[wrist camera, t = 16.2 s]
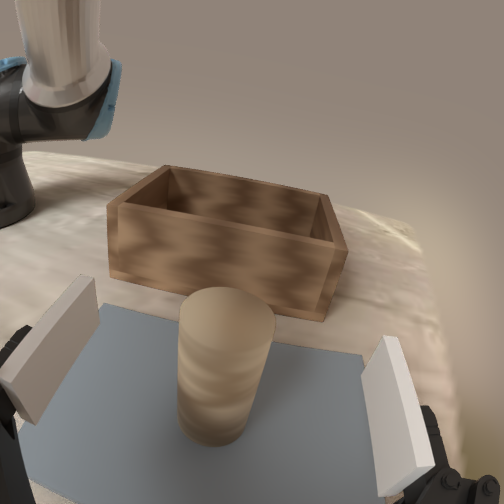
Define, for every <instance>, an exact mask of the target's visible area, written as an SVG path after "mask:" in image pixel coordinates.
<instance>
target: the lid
mask: <svg viewBox="0 0 504 504" xmlns="http://www.w3.org/2000/svg"><path fill="white" fill-rule="evenodd" d="M98 311H99V318H100V324H99V326H98V327H97V329H96V330H95V332H94V333H93V335H92V336H91V338H90V339H89V341H88V342H87V344H86V345H85V347H84V348H83V350H82V351H81V353H80V354H79V356H78V358H77V359H76V361H75V362H74V364H73V365H72V367H71V368H70V370H69V372H68V373H67V375H66V376H65V378H64V380H63V381H62V383H61V384H60V386H59V388H58V389H57V391H56V393H55V394H54V396H53V398H52V399H51V401H50V403H49V404H48V406H47V408H46V409H45V411H44V413H43V415H42V416H41V418H40V420H39V422H38V423H37V425H36V426H35V425H33V424H31V423H29V422H27V421H25V422H24V424H23V426H22V427H21V429H20V431H19V433H18V439H19V443H20V448H21V453H22V457H23V461H24V465H25V469H26V473H27V476H28V478H29V479H30V480H32V481H34V482H36V483H37V484H39V485H41V486H43V487H45V488H47V489H49V490H51V491H52V492H54V493H56V494H58V495H60V496H62V497H65V498H67V499H69V500H71V501H73V502H75V503H77V504H385V497H378V490H377V481H376V472H375V464H374V456H373V449H372V442H371V435H370V428H369V421H368V415H367V409H366V403H365V397H364V391H363V386H362V380H361V374H362V372H363V371H364V369H365V368H364V363H363V359H362V355H357V354H349V353H341V352H334V351H327V350H320V349H314V348H307V347H301V346H295V345H289V344H283V343H277V342H272V339H273V335H274V332H275V328H276V319H275V315H274V313H273V311H272V310H271V308H270V307H269V306H268V305H267V304H266V303H265V302H264V301H263V300H261V299H260V298H258V297H257V296H255V295H253V294H251V293H248V292H246V291H243V290H240V289H235V288H229V287H211V288H206V289H202V290H199V291H196V292H194V293H192V294H191V295H189V296H188V297H187V298H186V299H185V300H184V301H183V303H182V305H181V307H180V312H179V322H176V321H171V320H167V319H163V318H159V317H155V316H151V315H147V314H143V313H140V312H136V311H132V310H128V309H125V308H121V307H117V306H114V305H110V304H107V303H103V305H102V306H101V307H100V309H99V310H98Z"/></svg>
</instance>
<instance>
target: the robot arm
mask: <svg viewBox="0 0 504 504" xmlns="http://www.w3.org/2000/svg"><path fill="white" fill-rule="evenodd" d="M14 1H15V6H16V12H17V17H18V21H19V27H20V31H21V35H22V40H23V44H24V48H25V52H26V56H27V60H28V64H27V61H26V58H25V57H11V58H6V59H2V60H0V228H1V227H4V226H7V225H9V224H12V223H14V222H16V221H18V220H20V219H22V218H23V217H25V216H26V215H28V214H29V213H30V212H31V211H32V210H33V208H34V206H35V196H34V189H33V186H32V184H31V181H30V178H29V176H28V173H27V170H26V168H25V165H24V162H23V158H22V143H32V142H46V141H63V140H64V141H65V140H81V141H87V140H90V139H100V138H103V137H105V136H106V135H107V134H108V133H109V131H110V129H111V125H112V121H113V116H114V111H115V105H116V100H117V96H118V90H119V84H120V78H121V71H122V64H121V62H119V61H116V60H114V59H110V54H109V52H108V50H107V49H106V47H105V46H104V45H103V44H102V43H101V42H99V24H100V6H101V0H14ZM99 324H100V318H99V311H98V304H97V297H96V289H95V280H94V277H90V276H86V275H83V274H80V275H79V276H78V277H77V278H76V279H75V280H74V282H73V283H72V284H71V285H70V286H69V287H68V288H67V289H66V290H65V291H64V292H63V293H62V295H61V296H60V297H59V298H58V299H57V300H56V301H55V302H54V304H53V305H52V306H51V307H50V308H49V309H48V310H47V312H46V313H45V314H44V315H43V316H42V317H41V318H40V320H39V321H38V322H37V323H36V324H35V326H34V327H30V326H28V325H26V326H24V327H23V328H21V329H19V330H18V331H16V333H15V334H14V335H13V336H12V337H11V339H10V341H8V342H7V343H6V345H5V347H3V348H2V349H1V351H0V504H36V503H35V500H34V497H33V493H32V490H31V487H30V483H29V480H28V476H27V473H26V469H25V465H24V461H23V457H22V453H21V448H20V443H19V439H18V433H17V428H16V423H15V419H14V416H13V415H14V413H15V412H16V411H17V412H18V414H19V415H20V417H21V418H22V419H24V420H25V421H27V422H29V423H31V424H33V425H35V426H36V425H37V423H38V422H39V420H40V418H41V416H42V415H43V413H44V411H45V409H46V408H47V406H48V404H49V403H50V401H51V399H52V398H53V396H54V394H55V393H56V391H57V389H58V388H59V386H60V384H61V383H62V381H63V380H64V378H65V376H66V375H67V373H68V372H69V370H70V368H71V367H72V365H73V364H74V362H75V361H76V359H77V358H78V356H79V354H80V353H81V351H82V350H83V348H84V347H85V345H86V344H87V342H88V341H89V339H90V338H91V336H92V335H93V333H94V332H95V330H96V329H97V327H98V326H99ZM361 380H362V386H363V391H364V397H365V403H366V409H367V415H368V421H369V428H370V435H371V442H372V449H373V456H374V464H375V472H376V481H377V490H378V497H386V496H395V495H397V494H398V493H400V492H401V491H403V492H404V497H402V498H401V499H399V500H398V501H396V502H395V503H394V504H498V503H499V495H500V485H499V483H498V481H497V480H496V478H495V477H493V476H491V475H485V476H483V477H481V478H480V479H479V480H477V481H476V480H470V479H465V478H461V476H460V474H459V473H458V472H457V471H456V470H455V469H452V468H450V466H449V464H448V460H447V456H446V452H445V448H444V445H443V441H442V437H441V436H440V430H439V428H438V424H437V420H436V417H435V414H434V413H433V412H432V410H431V409H430V407H429V406H420V405H419V401H418V398H417V395H416V391H415V388H414V385H413V382H412V378H411V375H410V372H409V369H408V366H407V363H406V360H405V357H404V354H403V351H402V348H401V345H400V343H399V340H398V337H393V336H385V335H383V336H382V338H381V340H380V342H379V344H378V346H377V348H376V349H375V351H374V353H373V355H372V357H371V358H370V360H369V362H368V364H367V366H366V367H365V369H364V371H363V372H362V374H361Z"/></svg>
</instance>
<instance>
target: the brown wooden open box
mask: <svg viewBox="0 0 504 504" xmlns="http://www.w3.org/2000/svg"><path fill="white" fill-rule="evenodd" d="M107 238H108V258H109V272H110V277H111V278H115V279H119V280H123V281H127V282H131V283H135V284H139V285H143V286H147V287H151V288H156V289H160V290H164V291H169V292H173V293H177V294H182V295H186V296H189V295H191V294H192V293H194V292H196V291H199V290H202V289H206V288H211V287H229V288H235V289H240V290H243V291H246V292H248V293H251V294H253V295H255V296H257V297H258V298H260V299H261V300H263V301H264V302H265V303H266V304H267V305H268V306H269V307H270V308H271V310H272V311H273V313H274V314H279V315H285V316H290V317H296V318H302V319H307V320H313V321H319V322H323V320H324V318H325V315H326V313H327V310H328V307H329V305H330V302H331V299H332V297H333V294H334V291H335V288H336V286H337V283H338V280H339V277H340V274H341V272H342V269H343V266H344V263H345V260H346V257H347V254H348V249H347V246H346V243H345V240H344V237H343V235H342V232H341V229H340V226H339V223H338V221H337V218H336V215H335V213H334V210H333V207H332V205H331V202H330V199H329V197H328V195H325V194H320V193H316V192H311V191H306V190H303V189H298V188H293V187H288V186H283V185H278V184H273V183H268V182H264V181H258V180H253V179H248V178H243V177H237V176H231V175H226V174H220V173H214V172H208V171H202V170H196V169H190V168H183V167H177V166H170V165H164V166H162V167H161V168H159V169H157V170H156V171H154V172H153V173H151V174H150V175H148V176H147V177H145V178H144V179H142V180H141V181H139V182H138V183H137V184H135V185H134V186H132V187H131V188H129V189H128V190H126V191H125V192H124V193H122V194H121V195H119V196H118V197H116V198H115V199H114V200H112V201H111V202H110V203H108V204H107Z"/></svg>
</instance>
